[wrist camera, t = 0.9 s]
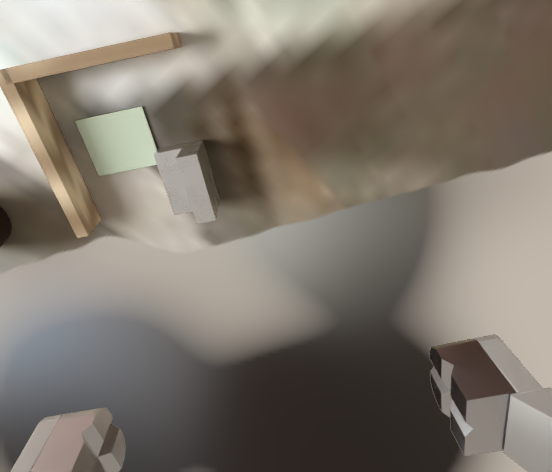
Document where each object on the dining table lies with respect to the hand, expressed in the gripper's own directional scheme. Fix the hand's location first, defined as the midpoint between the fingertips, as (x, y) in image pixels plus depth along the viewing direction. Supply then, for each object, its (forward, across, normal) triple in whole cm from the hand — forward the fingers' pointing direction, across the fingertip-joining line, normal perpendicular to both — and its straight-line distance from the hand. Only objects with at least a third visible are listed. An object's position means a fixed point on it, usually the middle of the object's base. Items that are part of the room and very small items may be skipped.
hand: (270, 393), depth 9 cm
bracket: (+34, +8, +4) cm, 36 cm away
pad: (+34, +14, -2) cm, 37 cm away
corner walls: (+34, +13, -2) cm, 37 cm away
